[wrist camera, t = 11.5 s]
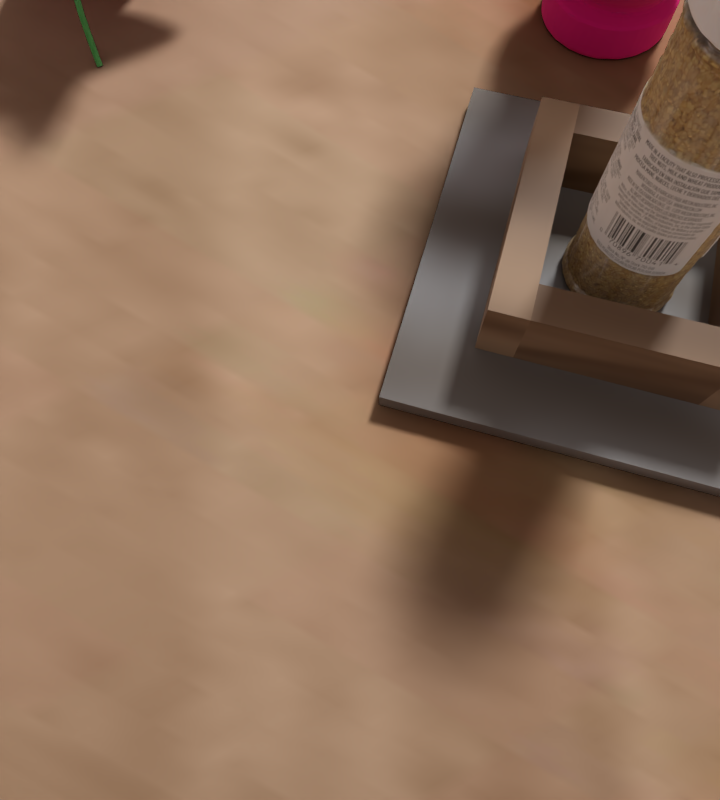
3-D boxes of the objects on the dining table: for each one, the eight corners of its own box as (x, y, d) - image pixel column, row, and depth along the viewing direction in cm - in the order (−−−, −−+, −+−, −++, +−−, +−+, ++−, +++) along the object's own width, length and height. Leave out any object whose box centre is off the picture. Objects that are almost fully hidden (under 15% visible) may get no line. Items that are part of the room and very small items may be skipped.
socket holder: (807, 520, 23) (885, 496, 20) (379, 404, 25) (380, 364, 21) (824, 174, 29) (888, 107, 25) (471, 101, 30) (484, 29, 27)
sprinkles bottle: (695, 276, 26) (998, -74, 13) (622, 346, 25) (875, 36, 12) (606, 208, 27) (806, -171, 15) (533, 271, 26) (680, -78, 14)
